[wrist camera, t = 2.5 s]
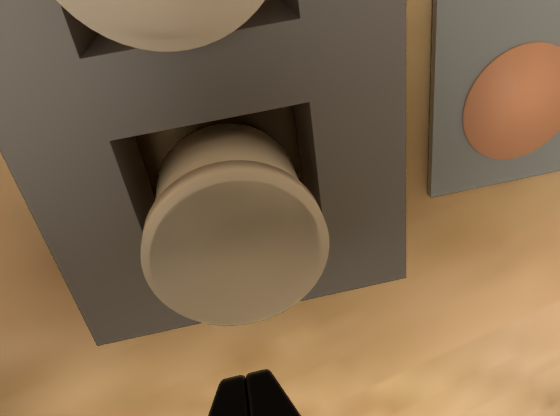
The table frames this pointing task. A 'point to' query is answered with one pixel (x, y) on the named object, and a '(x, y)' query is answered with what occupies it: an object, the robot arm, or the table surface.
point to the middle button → (162, 20)
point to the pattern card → (493, 93)
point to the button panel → (194, 110)
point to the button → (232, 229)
